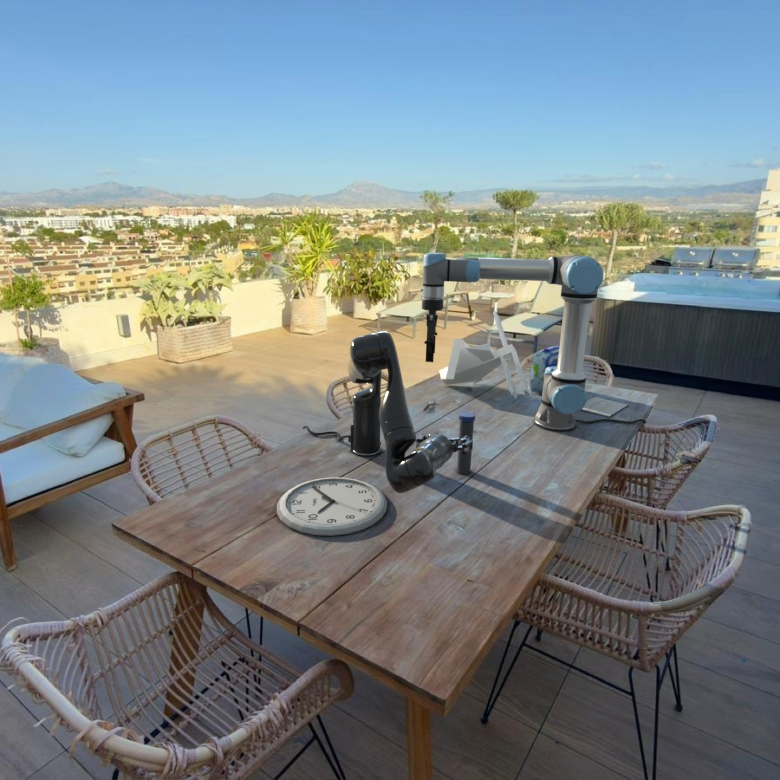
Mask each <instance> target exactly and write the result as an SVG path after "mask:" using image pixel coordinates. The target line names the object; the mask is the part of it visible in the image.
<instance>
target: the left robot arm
mask: <svg viewBox="0 0 780 780" xmlns="http://www.w3.org/2000/svg"><path fill="white" fill-rule="evenodd" d="M349 357H350V359H349V362H348V366H347V374H348V378H349V379H350V381H351V382H352V384H356V385H369V386H367V387H366V388H364V389H362V390H359V391H357V392H355V393H354V394H353V396H352V424H350V426H349V427H350V434H345V435H340V433H339V432H338V431H333V430H332V431H330V430H329V431H323V432H313V431H312V430H311V429H310V427H309V426H308V425H303V426H302V429H304V430H305V429H306V430H307V432H308V433H309V434H310V435H313V436H324V435H336V436H337V437H336V440H337V441H342V440H343V439H348V441H347V442H348V443H350V452H353V453H354V454H355V455H357V456H361V457H371V456H377V455H378V454H379V453H381V446H382V441H381V431H382V435H383V439H384V443H385V476H386V480H387V482H388V485H389V487H390V489H392V491H394V492H396V493H398V494H405V493H408V492H411V491H413V490H414V489H417V488H419V487H421V486H423V485H425V484H427V483H429V482H431V481H432V480H434V478H435V476H436V472H437V470H439V469H441V467H443V466H444V465H445V464H446V463H447V462H448V461H449V460H450V459H451V457H452V456H453V454H454V453H458V451H462V454H464V455H465V454H468V453H469V452H470V451H471V450H472V451H473V450H474V449H473V447H474V446H473V445H474V439H473V440H471V439H470V438H469V437H468V436H464V437H463V438H462V439H459V437H451V438H450V437H447V436H446V435H443V434H440V433H439V431H438V432H437V431H434V432H433V433H429V434H427V435H426V434H425V433H421V434H420V435H419V436H417V434H416V431H415V428H414V425H413V422H412V418H411V415H410V412H409V408H408V405H407V399H406V394H405V393H406V392H405V388H404V381H403V376H402V371H401V365H400V361H399V357H398V351H397V347H396V344H395V341H394V339H393V336H392V335H391V333H390V332H389V331H386V330H383V331H375V332H372V333H368V334H363V335H360V336H356V337H354V338H353V339H352V340H351V341H350V344H349ZM383 370H387V384H386V388H385V391H384V394H383V397H381V396H382V395H381V394H382V374H383ZM461 442H462V446H460V443H461ZM414 445H415V448H414V449H413V450H412V451H411V452H410V454H408V455H406V454H407V452H408V450H409V449H410V448H411V447H413V446H414Z"/></svg>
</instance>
